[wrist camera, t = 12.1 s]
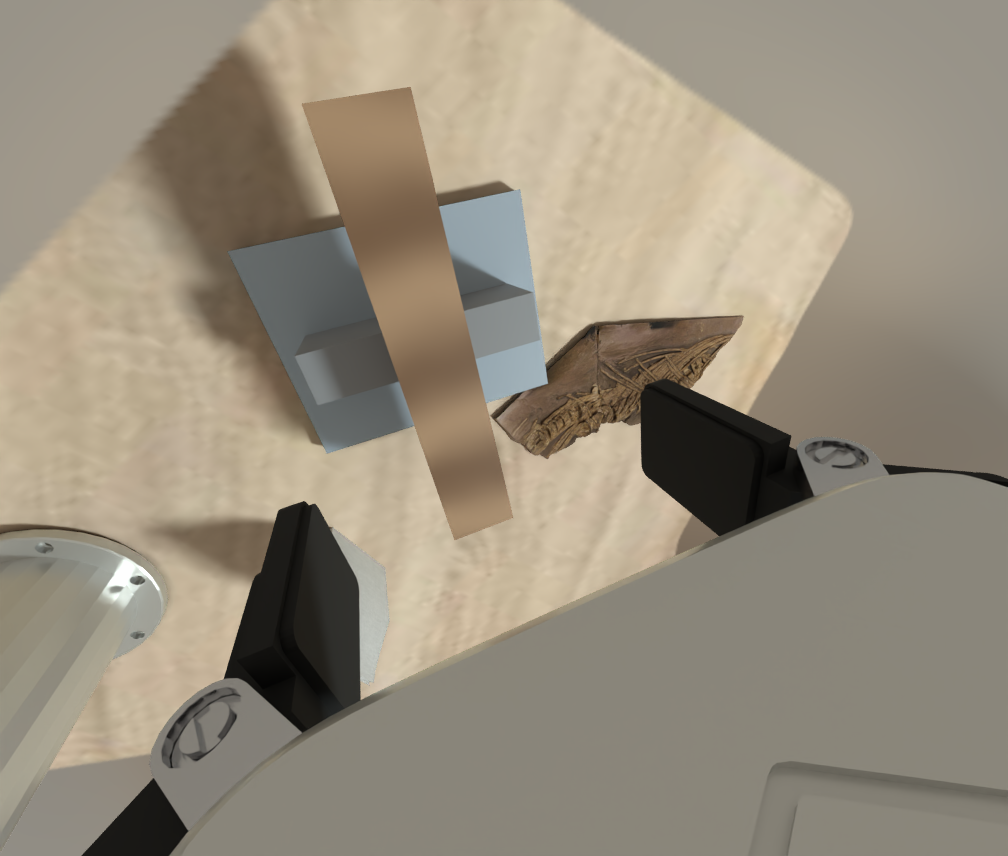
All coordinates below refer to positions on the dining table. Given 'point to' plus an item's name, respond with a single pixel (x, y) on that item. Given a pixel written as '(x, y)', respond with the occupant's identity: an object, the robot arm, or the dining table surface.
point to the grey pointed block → (368, 604)
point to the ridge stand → (355, 329)
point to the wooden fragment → (612, 378)
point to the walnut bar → (413, 292)
